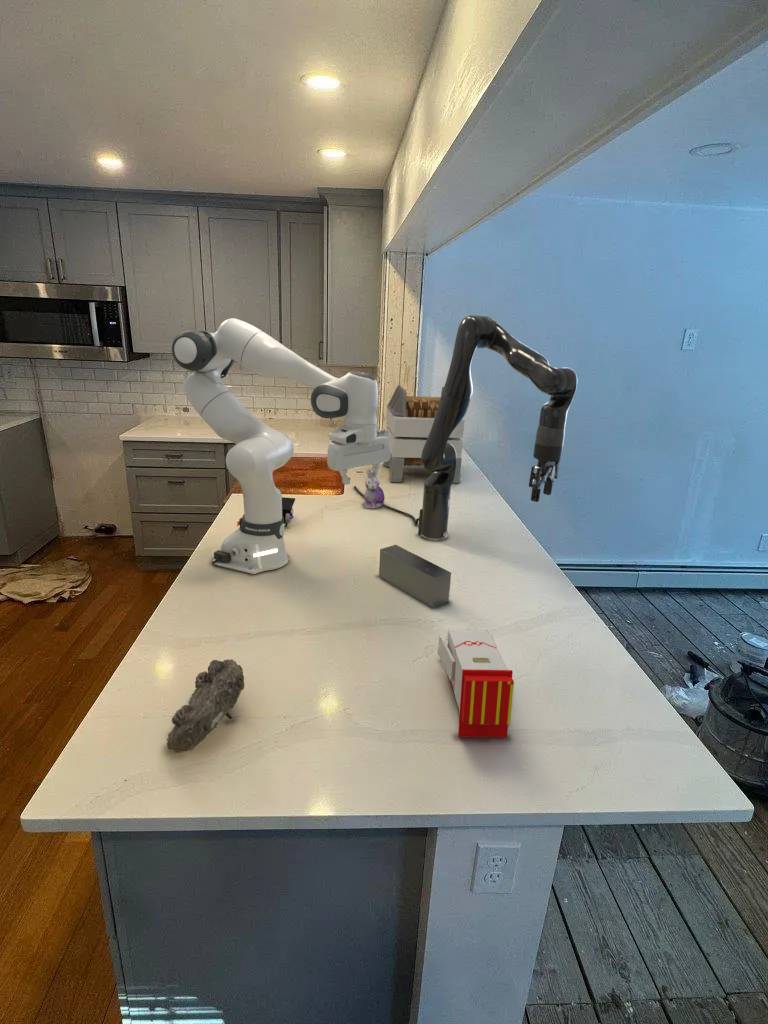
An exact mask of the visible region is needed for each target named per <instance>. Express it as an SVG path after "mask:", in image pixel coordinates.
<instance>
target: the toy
mask: <svg viewBox="0 0 768 1024" xmlns="http://www.w3.org/2000/svg"><path fill="white" fill-rule="evenodd" d="M446 640H447V643H446V641H445V639H444V636H443V635H442V634H439V637H438V646H437V656H438V657H439V659H440V661H441V663H442V666H443V668H444V670H445V672H446V674H447V677H448V679H449V681H450V684H451V687H452V690H453V693H454V697H455V701H456V705H457V708H458V711H459V714H458V715H459V716H458V730H457V731H458V732H457V737H458V738H508V731H509V726H510V725H511V717H512V707H513V697H514V696H513V695H514V684H515V680H514V679H513V673H514V671H513V670H512V669H508V667H507V665H506V662H505V661H504V659H503V658H502V655H501V653H500V651H499V649H498V647H497V643H496V639H495V637H494V635H493V634H491V632H490V631H489V629H467V628H466V629H465V628H463V629H461V628H460V629H459V628H448V630H447V639H446Z"/></svg>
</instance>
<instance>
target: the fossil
mask: <svg viewBox="0 0 768 1024" xmlns="http://www.w3.org/2000/svg"><path fill="white" fill-rule="evenodd" d="M243 670H244V669H243V667H242V665H240V664H237V662H236V661H235V660H234V659H232V658H231V659H227V658H226V659H224V660H223V661H222V660H217V659H212V660H211V661H210V663H209V665H208V666H207V671H201V672H199V673H198V674H197V675H196V676H195V680H194V684H195V685H194V687H195V689H194V690H193V693H192V694H191V697H190V698H189V700H188V704H184V705H182V706H181V707H180V709H177V710H176V711H175V713H174V715H173V716H172V718H171V723H172V724H173V727H172V730H171V731H170V732H168V734H167V738H166V741H167V742H166V745H167V749H168V750H169V751H173V752H174V753H176V754H178V753H182V752H188V751H189V752H192V751H193V750H195V748H196V747H197V746H199V744H200V743H201V742H203V741H204V740H205V739H206V738H207V737H208V736H209V735H210V734H211V733H212V732H214V730H215V729H217V727H218V726H219V724H220V722H221V721H222V720H223V719H224V718H225V716H226V717H227V719H229V720H233V717H232V715H230V714H229V710H230V709H231V708H234V706H235V704H236V703H237V702H238V699H239V697H240V695H241V693H242V691H243V690H245V689H244V688H245V675H244V671H243Z"/></svg>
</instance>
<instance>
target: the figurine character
mask: <svg viewBox="0 0 768 1024" xmlns="http://www.w3.org/2000/svg"><path fill="white" fill-rule="evenodd" d="M295 502H296V498H294V497H285V496H284V497H283V496H282V516H283V518H284V528H287V527H288V525H289V524H290V523H292V522H291V521H292V520H294V509H293V506H294V504H295Z"/></svg>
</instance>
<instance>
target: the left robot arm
mask: <svg viewBox="0 0 768 1024" xmlns="http://www.w3.org/2000/svg"><path fill="white" fill-rule="evenodd" d="M171 355H172V357H173V360H174V361H175V363H176V364H177V365H178V366H179V367H181V368H182V369H185V370H187V371H190V373H189V375H187V377H186V378H185V379H184V381H183V384H182V385H183V386H182V389H183V393H184V395H185V396H186V398H187V400H188V401H189V403H190V404H191V406H192V407H193V408H194V411H196V412H197V414H198V415H199V416H200V417H201V418H202V420H203V421H205V423H206V424H207V425H208V426H209V427H210V428H211V430H212V431H213V432H215V434H216V435H217V436H218V437H220V438H221V439H223V440H226V441H229V442H231V443H233V444H235V445H234V446H232V447H231V448H230V449H229V450H228V452H227V454H226V456H225V465H226V469H227V471H228V473H229V474H230V475H231V476H232V477H233V478H235V479H236V480H237V482H238V484H239V486H240V489H241V493H242V498H243V499H242V500H243V509H244V510H243V515H242V517H240V518H239V520H238V521H236V527H238V526H239V528H237V529H236V530H234V531H233V532H232V533H230V534H229V535H227V536H226V537H225V538H224V540H222V543H221V546H220V549H217V550H216V551H214V552H213V559H212V562H211V563H212V565H215V566H219V567H223V568H226V569H231V570H235V571H239V572H243V573H248V574H252V575H255V574H259V573H262V572H267V571H273V570H277V569H280V568H282V567H284V566H285V565H287V564H288V563H289V557H288V553H287V550H286V545H285V539H284V535H285V524H284V518H283V516H282V497H283V493H282V491H281V490H280V489H279V488H278V487H276V485H275V482H274V477H273V474H274V471H276V470H278V469H280V468H282V467H284V466H285V465H286V464H287V463H288V462H289V461H290V460H291V458H292V457H293V455H294V451H295V448H294V443H293V441H292V439H291V438H290V436H289V435H287V434H285V433H284V432H281V431H278V430H276V429H274V428H272V427H271V426H269V425H267V423H264V422H263V421H262V420H260V419H259V418H257V417H256V416H255V415H254V414H252V413H251V412H250V411H249V410H248V408H247V407H245V405H243V404H242V402H241V401H240V400H239V399H238V398H237V397H236V396H235V395H234V394H233V393H232V391H230V389H229V387H227V386H226V385H225V384H224V383H223V380H222V379H224V378H225V377H226V376H227V375H228V373H229V370H230V369H231V368H232V367H233V365H234V363H235V362H236V363H238V365H240V366H242V367H243V368H245V369H246V370H248V371H249V372H251V373H253V374H255V375H258V376H261V377H263V378H269V379H290V380H294V381H297V382H299V383H301V384H303V385H305V386H306V387H308V388H310V389H312V392H311V396H310V405H311V408H312V410H313V411H314V414H316V415H317V416H318V417H320V418H322V419H328V420H329V419H336V418H344V424H343V425H341V426H340V427H338V428H337V429H333V430H332V431H331V432H329V434H328V439H329V440H330V442H329V444H328V446H327V454H326V456H327V457H326V464H327V466H328V469H330V470H332V471H335V472H338V473H339V475H340V476H341V480H342V481H341V483H342V485H350V484H351V477H349V476H348V475H347V473H348V470H350V469H355V468H360V467H367V466H372V468H371V469H370V471H371V472H369V476H368V477H369V478H370V479H375V478H376V473H377V471H378V472H379V469H380V467H381V464H382V463H384V462H388V461H389V459H390V457H391V451H390V441H389V433H388V432H387V431H386V429H378V417H377V411H378V408H379V388H378V382H377V378H376V377H375V376H374V375H373V374H371V373H369V372H366V371H361V370H350V371H348V372H347V373H346V374H344V375H343V376H337V375H334V374H332V373H330V372H328V371H327V370H324V369H323V368H321V367H319V366H318V365H316V364H314V363H312V362H311V361H309V360H307V359H306V358H304V357H302V356H300V355H299V354H297V353H296V352H295V351H293V350H291V349H289V348H288V347H286V346H285V345H284V344H282V342H279V340H276V339H275V338H273V337H272V336H271V335H269V334H268V333H266V332H265V331H264V330H262V329H260V328H258V327H257V326H255V325H252V324H250V323H249V322H247V321H244V320H241V319H240V318H235V317H231V318H228V319H225V320H224V321H223V322H221V324H220V325H219V326H218V329H217V330H216V331H215V332H210V331H208V330H186V331H183V332H180V333H179V334H177V335H176V336H175V338H174V339H173V341H172V344H171Z"/></svg>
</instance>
